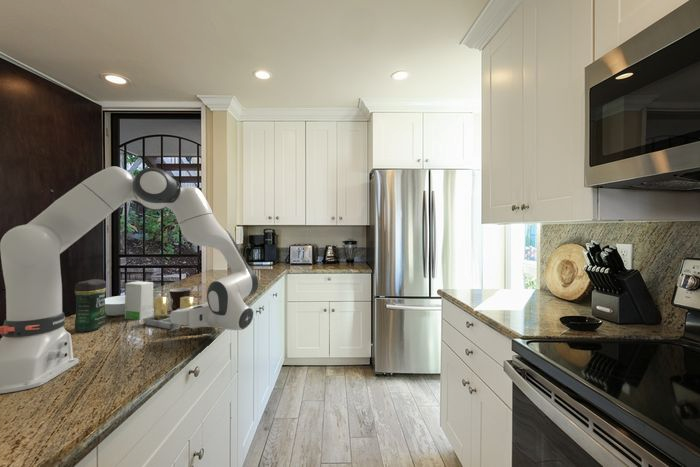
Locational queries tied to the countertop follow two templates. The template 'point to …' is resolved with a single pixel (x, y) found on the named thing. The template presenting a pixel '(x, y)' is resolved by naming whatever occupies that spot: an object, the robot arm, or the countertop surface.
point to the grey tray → (161, 323)
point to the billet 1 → (160, 307)
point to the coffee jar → (90, 305)
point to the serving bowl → (115, 305)
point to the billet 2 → (186, 302)
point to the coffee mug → (178, 296)
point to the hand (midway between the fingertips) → (185, 309)
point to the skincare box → (138, 300)
